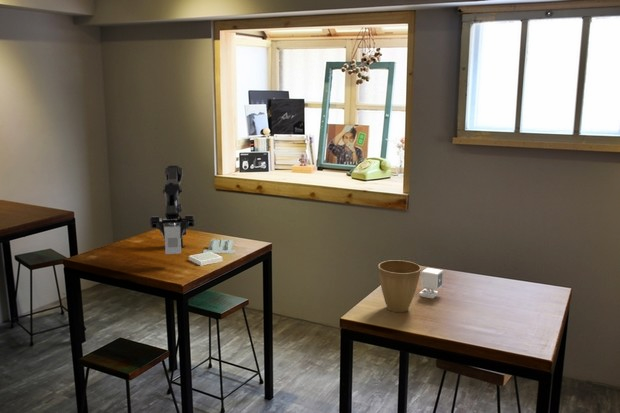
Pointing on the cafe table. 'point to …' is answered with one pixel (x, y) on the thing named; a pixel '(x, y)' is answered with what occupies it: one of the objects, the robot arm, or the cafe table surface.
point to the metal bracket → (220, 246)
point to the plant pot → (398, 283)
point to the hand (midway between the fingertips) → (172, 238)
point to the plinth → (205, 258)
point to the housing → (172, 238)
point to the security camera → (431, 282)
